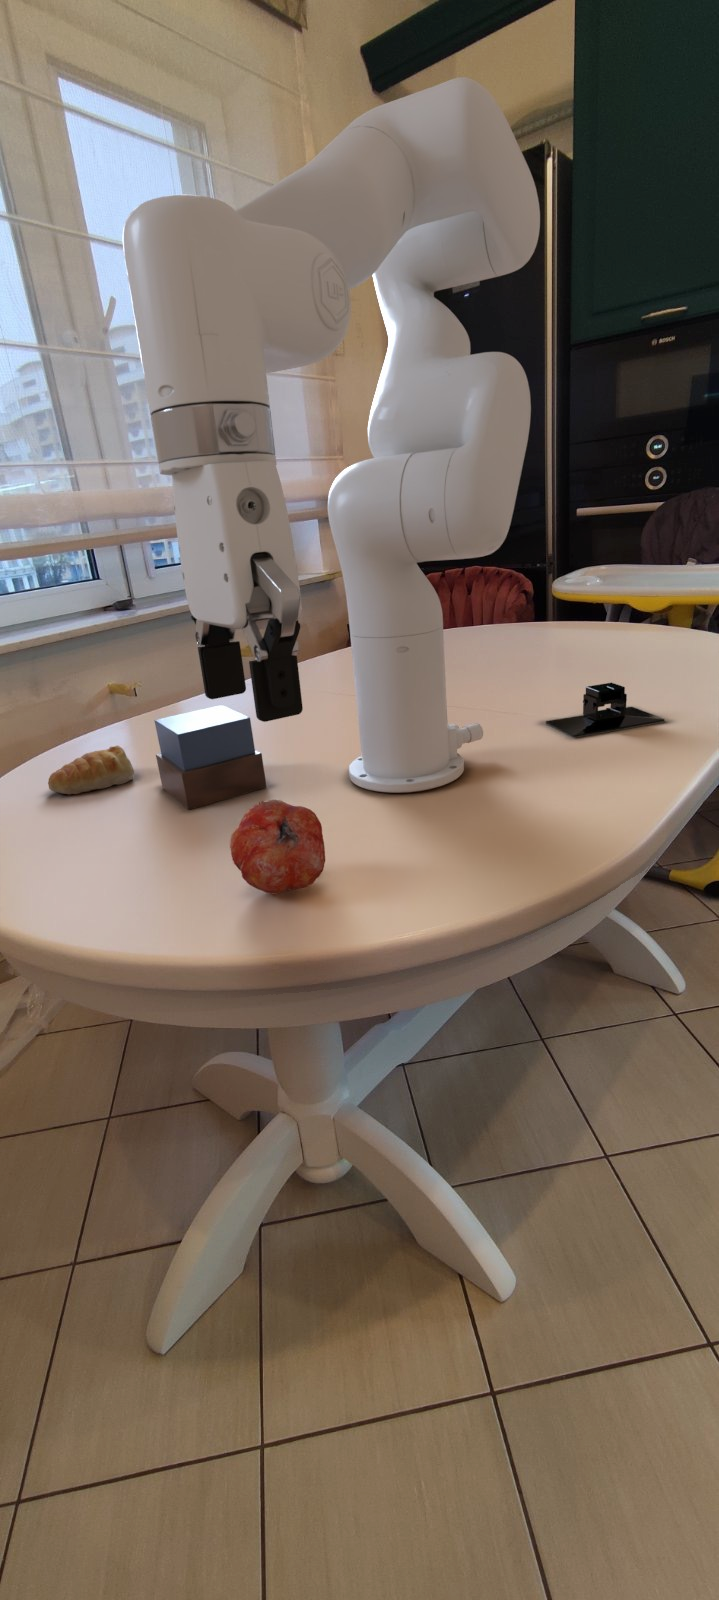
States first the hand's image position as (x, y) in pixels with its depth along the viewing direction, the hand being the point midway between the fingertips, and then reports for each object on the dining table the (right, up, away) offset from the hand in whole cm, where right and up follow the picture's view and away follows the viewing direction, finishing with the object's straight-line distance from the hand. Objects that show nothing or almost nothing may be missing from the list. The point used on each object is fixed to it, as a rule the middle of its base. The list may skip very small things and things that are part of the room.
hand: (251, 705), depth 53 cm
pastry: (-23, -5, +34) cm, 41 cm away
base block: (-9, -5, +28) cm, 30 cm away
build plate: (+38, +3, +38) cm, 54 cm away
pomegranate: (+2, -14, +6) cm, 15 cm away
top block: (-9, -2, +27) cm, 28 cm away
